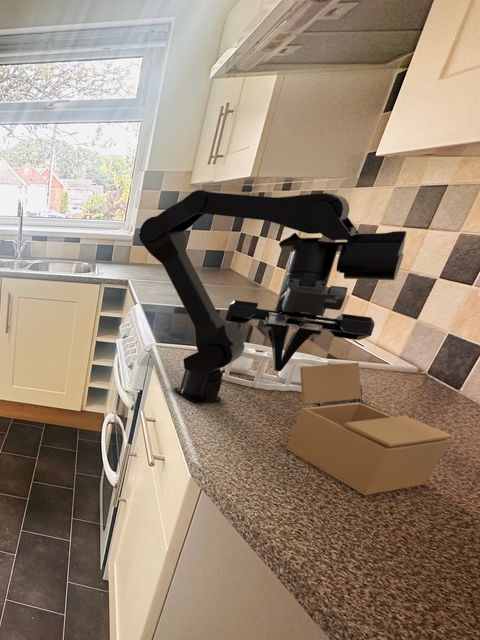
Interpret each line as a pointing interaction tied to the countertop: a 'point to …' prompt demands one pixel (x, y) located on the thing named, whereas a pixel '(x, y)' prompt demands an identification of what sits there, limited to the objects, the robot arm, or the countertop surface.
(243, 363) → the skeletal toy car
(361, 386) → the grey angular piece
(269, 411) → the countertop surface
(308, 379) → the flap
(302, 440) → the carton
